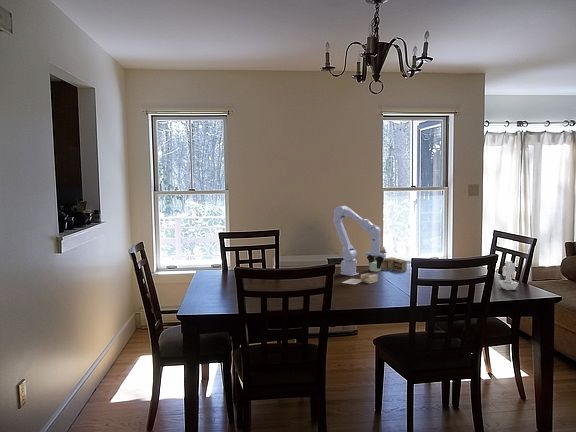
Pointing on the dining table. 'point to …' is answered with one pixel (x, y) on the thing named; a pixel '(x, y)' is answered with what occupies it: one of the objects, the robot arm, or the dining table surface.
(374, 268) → the sage cube
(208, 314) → the dining table surface
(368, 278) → the beech base
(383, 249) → the toy kitchen set
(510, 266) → the figurine
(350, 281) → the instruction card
